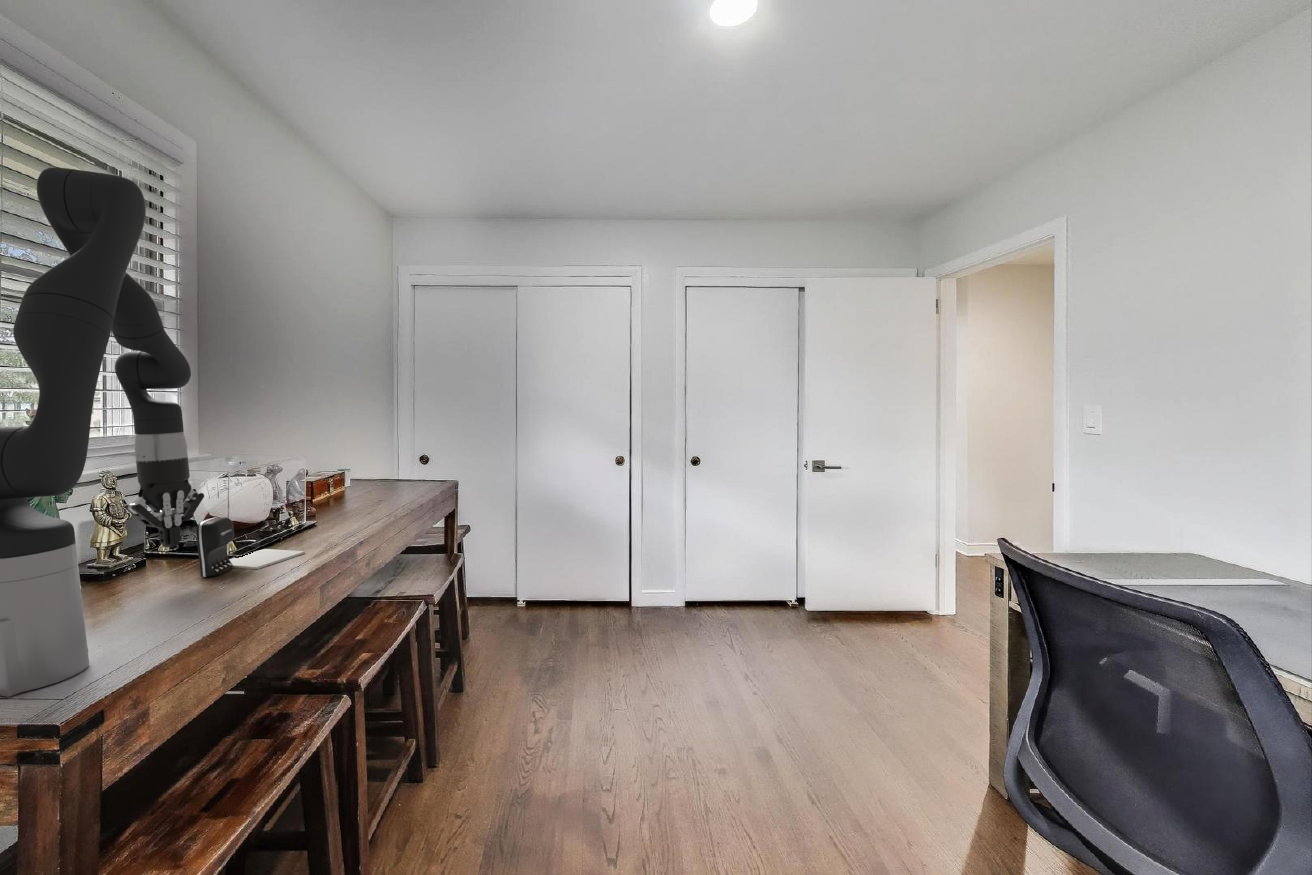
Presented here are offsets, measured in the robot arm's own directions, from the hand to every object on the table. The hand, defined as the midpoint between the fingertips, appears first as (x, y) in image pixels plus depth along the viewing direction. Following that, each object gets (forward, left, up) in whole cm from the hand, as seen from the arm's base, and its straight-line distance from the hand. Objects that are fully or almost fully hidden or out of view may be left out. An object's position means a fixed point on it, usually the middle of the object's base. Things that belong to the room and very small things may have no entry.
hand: (171, 545), depth 110 cm
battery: (+9, 0, -8) cm, 12 cm away
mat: (+18, 0, -8) cm, 20 cm away
